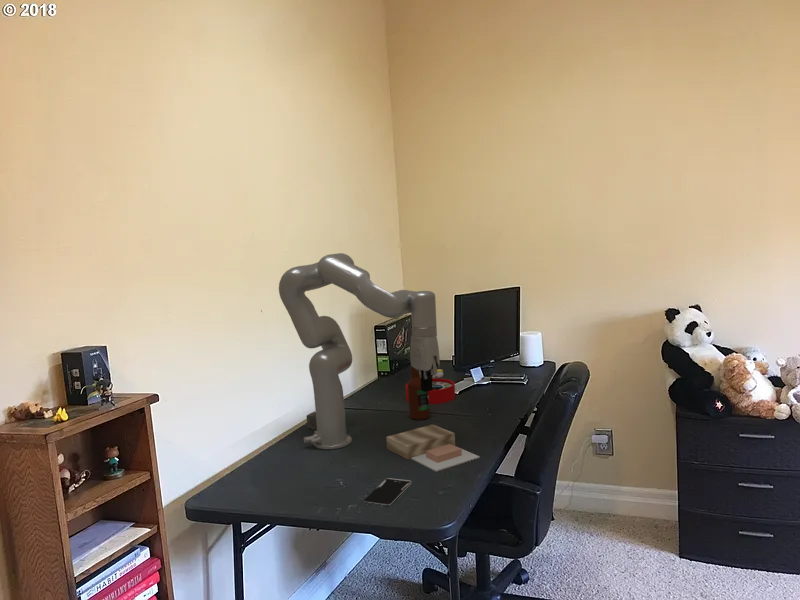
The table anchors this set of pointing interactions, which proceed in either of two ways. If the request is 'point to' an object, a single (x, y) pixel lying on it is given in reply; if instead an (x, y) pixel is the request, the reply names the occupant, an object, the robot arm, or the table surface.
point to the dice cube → (311, 420)
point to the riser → (419, 441)
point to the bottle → (417, 397)
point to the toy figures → (439, 374)
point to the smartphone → (388, 491)
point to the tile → (443, 453)
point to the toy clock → (439, 391)
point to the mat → (445, 464)
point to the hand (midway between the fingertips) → (426, 390)
